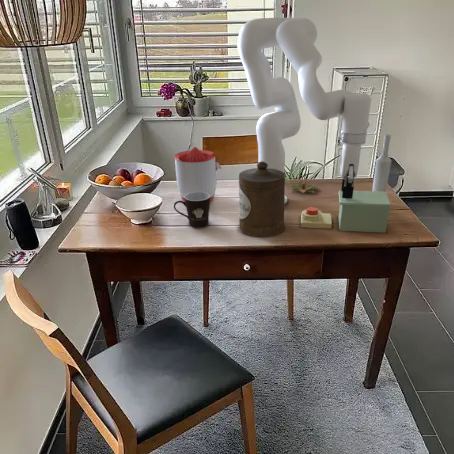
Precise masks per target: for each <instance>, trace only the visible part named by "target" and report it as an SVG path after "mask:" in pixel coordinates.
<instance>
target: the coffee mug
mask: <svg viewBox="0 0 454 454" xmlns="http://www.w3.org/2000/svg"><path fill="white" fill-rule="evenodd" d="M184 198H185V202H184V201H183V200H177V201H175V202H174V203H173V209H174V211H175V212H177V213H178V214H179V215H181V216H183V217H185V218H187V220H188V223H189V226H190V227H191V228H194V229H202V228H206V227H208V226H209V220H210V203H211V201H210V194H208V193H205V192H192V193H188V194H186V195H185V196H184ZM179 203H181V204H183V206H184V207H185V209H186V213H187V214H185V213H183V212H181V211H179V210H178V209H177V208H176V205H177V204H179Z"/></svg>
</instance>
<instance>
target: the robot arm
mask: <svg viewBox="0 0 454 454" xmlns="http://www.w3.org/2000/svg"><path fill="white" fill-rule="evenodd" d="M238 32H239V33H238V36H237V51H238V55H239V58H240V61H241V63H242V66H243V68H244V69H243V70H244V72H245V76H246V80H247V84H248V88H249V91H250V95H251V99H252V103H253V105H254V107H255V108H256V109H258V110H260V111H266V110H267V111H268V110H272V109H274V111H272V112H269V113H265V114H264V115H262V116H260V118H259V119H258V120H257V122H256V126H255V133H256V139H257V148H258V149H257V150H258V157H257V158H258V163H259V162H261V161H263V162H265V163H267V165H268V167H267V168H270V169H276V170H280V171H282V172H283V173H284V174H285V167H286V151H285V147H284V144H283V141H282V140H285V139H288V138H292V137H294V136H296V135H297V134H298V133H299V131H300V128H301V115H300V110H299V107H298V102H297V98H296V95H295V94H296V93H295V89H294V87H293V85H292V83H291V82H290V81H289V80H288V79H287V78H285V77H282V76H278V77H274V75H273V71H272V69H271V67H272V66H271V64H270V61H269V59H268V58H267V56H266V55H265V54H264V52H263V49H269V48H277V47H278V48H280V49H281V51H282V53H283V54H284V56H285V57H286V59H287V60H288V62H289V63H290V65H291V66H292V68H293V69H294V71H295V72H296V74H297V76H298V81H297V83H298V89H299V94H300V97H301V99H302V101H303V103H304V104H305V106H306V108H307V109H308V111H309V112H310V113H311V115H312V116H314V117H315V118H316V119H317V120H320V121H327V120H331V119H334V118H340V117H342V121H341V131H340V132H341V133H340V144H342V150H341V157H340V163H339V164H340V165H339V174H340V176H341V178H342V180H341V188H340V190H341V191H342V192H343V193H342V198H350V199H351V198H352V197H353V191H354V190H355V189H354V188H355V186H354V182H355V178H356V177H357V176H358V172H359V166H360V165H359V164H360V158H361V151H362V150H361V149H362V146H363V145H365V144H366V141H367V136H368V135H367V133H368V125H369V118H370V111H371V105H372V104H371V103H372V98H371V96H370V95H369V94H367V93H361V92H352V91H350V90H345V89H337V90H331V91H327V92H326V91H325V89H324V88H323V86H322V85H321V83H320V81H319V80H318V76H317V70H318V69H319V67H320V66H321V65H322V62H323V56H322V54H321V53H320V51H319V50H318V49H317V47H316V45H315V43H316V41H317V38H318V29H317V27H316V24H315V23H314V22H313V21H312V20H311V19H309V18H306V17H304V18H303V17H300V18H299V17H297V18H295V17H264V18H263V17H260V18H254V19H251V20H249V21H247V22H245V23H244V24H243V25H242V26H241V28H240V30H239V31H238ZM287 203H288V197H287V196H286V195H284V205H286V204H287Z"/></svg>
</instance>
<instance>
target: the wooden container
mask: <svg viewBox="0 0 454 454" xmlns="http://www.w3.org/2000/svg"><path fill="white" fill-rule="evenodd" d="M267 167H268V165H267V163H265V162H263V161H261V162H259V161H258V163H257V164H256V168H248V169H244V170H242V171H241V172H240V173H238V222H239V224H238V225H239V226H238V227H239V230H240V232H242V233H243V234H244V235H247V236H251V237H261V238H262V237H271V236H276V235H278V234H280V233H282V232H283V230H284V228H285V227H284V226H285V204H284V196H286V195H285V191H286V190H285V188H286V187H285V185H286V173H285V172H284V173H283V172H282V171H280V170H276V169H270V168H267Z"/></svg>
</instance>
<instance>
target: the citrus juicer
mask: <svg viewBox="0 0 454 454" xmlns="http://www.w3.org/2000/svg"><path fill="white" fill-rule="evenodd" d="M173 159H174V162H175V163H174V165H175V177H176V185H177V189H178V192H179V195H180V198H181V200H182V201H183V202H185V198H184V196H185V195H186V194H188V193H192V192H205V193H208V194H210V202H212V201H213V200H214V198H215V194H216V190H217V182H218V181H217V180H218V178H217V177H218V175H217V173H218V172H217V171H218V169H219V170H222V169H223V168H222V165H221V164H220V162H218V161H217V156H215V152H214V151H211V150H204V149H199V148H198V147H196V146H194V147H192V148H191V149H190V150H184V151H181V152H178V153H175V155H174V157H173Z"/></svg>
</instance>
